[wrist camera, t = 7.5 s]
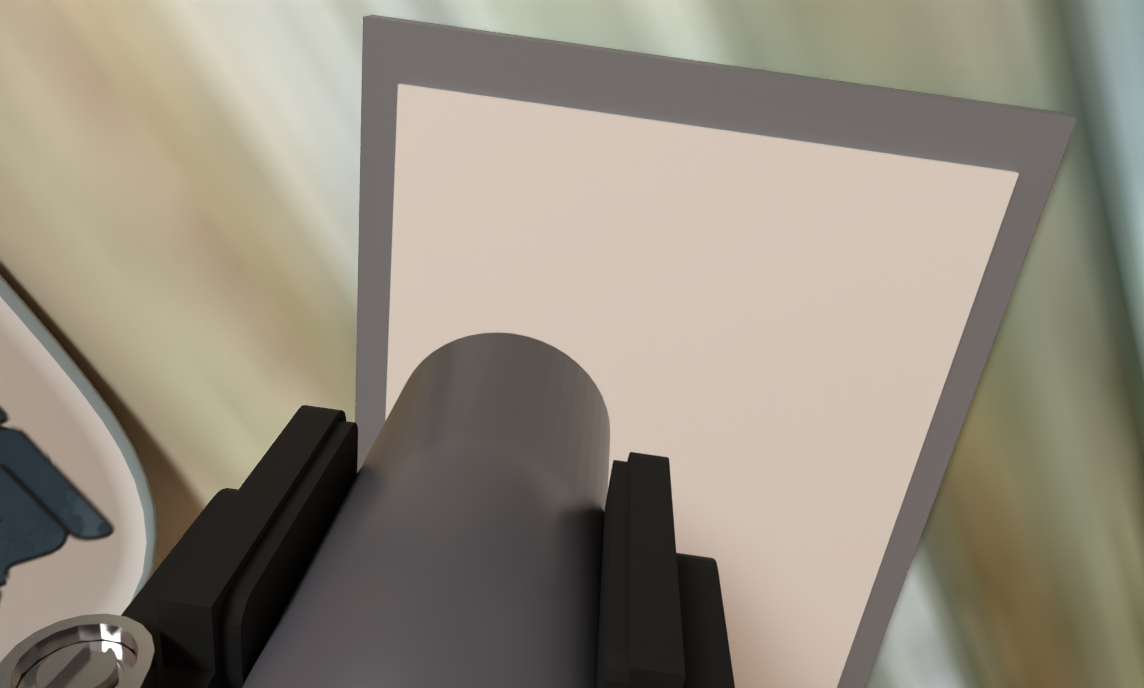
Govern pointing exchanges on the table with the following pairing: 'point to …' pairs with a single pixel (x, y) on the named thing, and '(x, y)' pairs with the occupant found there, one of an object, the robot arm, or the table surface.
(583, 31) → the table surface
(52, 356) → the grey rounded block
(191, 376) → the table surface
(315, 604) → the marker
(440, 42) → the notepad
